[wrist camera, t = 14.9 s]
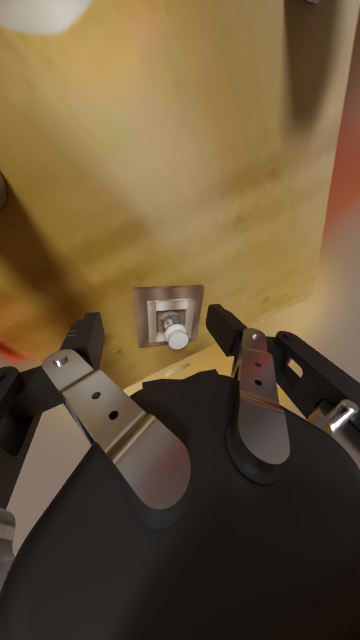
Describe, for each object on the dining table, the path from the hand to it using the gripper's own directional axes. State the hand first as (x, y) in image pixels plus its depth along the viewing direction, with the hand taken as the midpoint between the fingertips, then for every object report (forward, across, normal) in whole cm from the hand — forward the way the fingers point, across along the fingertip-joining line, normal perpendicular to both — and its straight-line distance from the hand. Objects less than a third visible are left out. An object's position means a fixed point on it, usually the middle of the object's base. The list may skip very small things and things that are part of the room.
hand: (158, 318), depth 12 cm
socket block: (+28, -7, +17) cm, 34 cm away
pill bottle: (+27, -7, +17) cm, 32 cm away
